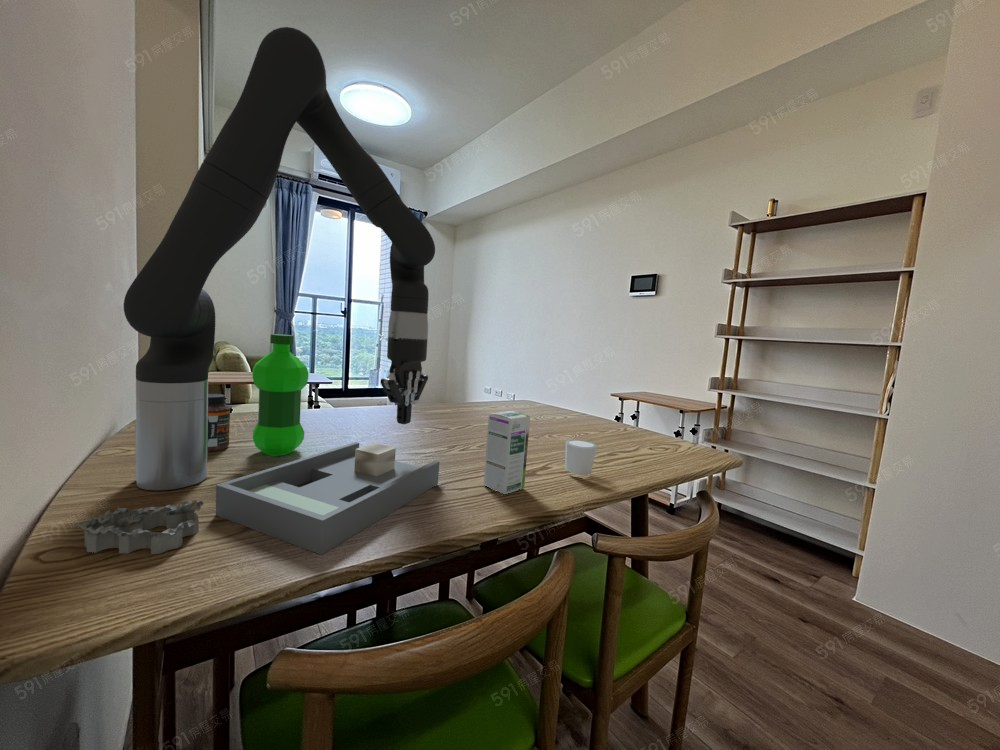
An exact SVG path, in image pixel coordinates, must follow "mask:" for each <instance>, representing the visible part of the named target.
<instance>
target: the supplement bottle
mask: <svg viewBox="0 0 1000 750" xmlns="http://www.w3.org/2000/svg"><path fill="white" fill-rule="evenodd" d="M230 418H231V408H230V406H229V405H228V404H227V403H226V395H225V394H222V393H208V442H207V452H215V451H216V452H217V451H222V450H224V449H226V448H228V447H229V446H230V429H231V428H230V424H231V420H230Z"/></svg>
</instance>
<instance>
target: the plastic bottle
mask: <svg viewBox="0 0 1000 750" xmlns="http://www.w3.org/2000/svg"><path fill="white" fill-rule="evenodd" d="M269 340H270V344H273V345H272V347H273V348H272V351H270V352H269V353H268V354H266V355H264V356H263V357H262V358H261V359H260V360H258V361H257V362H255V364H254V366H253V369H252V375H251V376H252V380H253V383H254V386H255V387H256V388H257V389H258V419H257V420H258V422H257V423H256V425H255V426H254V429H253V431H252V440H253V442H254V445H255V447H256V448H257V450H259V451H260V452H262V453H264V455H265V456H270V457H275V456H276V457H278V456H279V457H280V456H286V455H290V454H291V453H293V451H295V450H296V449H297V448H298V447H300V445H302V444H303V441H304V439H305V430H304V428H303V425H302V424H301V406H302V404H301V401H302V400H301V399H302V390H303V389H304V388H305V387H306V386H307V385H308V381H309V370H308V368H307V366H306V365H305V364H304V363H303V362H302V360H300V358H298V357H297V356H296V355H295V354H293V353H292V352H291V345H294V335H293V334H283V333H281V334H280V333H271V334H270V339H269Z"/></svg>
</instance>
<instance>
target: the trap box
mask: <svg viewBox="0 0 1000 750" xmlns="http://www.w3.org/2000/svg"><path fill="white" fill-rule="evenodd" d="M357 448H360V442H357V441H354V442H352V443H348V444H345V445H342V446H338V447H335V448H332V449H329V450H324V451H321V452H319V453H316V454H315V453H314V454H312V455H309V456H306V457H302V458H299V459H295V460H292V461H289V462H287V463H283V464H280V465H279V464H278V465H277V466H273V467H270V468H266V469H263V470H260V471H257V472H256V471H255V472H254V473H250V474H247V475H243V476H241V477H237V478H234V479H231V480H227V481H224V482H221V483H217V484H216V485H215V516H218V517H219V518H223V519H225V520H227V521H230V522H233V523H236V524H239V525H241V526H245V527H247V528H249V529H252V530H254V531H258V532H260V533H263V534H265V535H268V536H269V537H272V538H275V539H279V540H281V541H284V542H286V543H290V544H292V545H294V546H296V547H299V548H302V549H305V550H308V551H310V552H313V553H315V554H317V555H320V556H322V555H323V554H325V553H327V552H328V551H330V550H332V549H333V548H335V547H337V546H338V545H340V544H342V543H343V542H346V541H347V540H348V539H350V538H351V537H353V536H355V535H356V534H358V533H360V532H361V531H363V530H365V529H366V528H368V527H370V526H372V525H373V524H375V523H376V522H378V521H380V520H381V519H383V518H385V517H387V516H388V515H390V514H392V513H393V512H395V511H397V510H399V509H400V508H401V507H403V506H405V505H406V504H409V503H410V502H412V501H413V500H414V499H416V498H418V497H420V496H421V495H423V494H425V493H427V492H428V491H430V490H431V489H433V488H434V486H435V485H436V486H438V485H439V473H440V460H439V461H438V460H433V461H431V462H428V463H426V464H425V465H423V466H421V467H420V466H418V465H417V466H416V465H414V464H413V465H412V464H408V463H403V462H400V461H396V460H395V467H394V469H393V470H390V471H388V472H386V473H384V474H382V475H379V476H377V477H376V476H373V475H369V474H365V473H361V472H358V471H354V469H355V449H357ZM437 484H438V485H437ZM436 486H435V487H436ZM432 487H433V488H432ZM429 489H430V490H429ZM427 490H428V491H427ZM424 492H425V493H424ZM419 495H420V496H419Z"/></svg>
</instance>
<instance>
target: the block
mask: <svg viewBox="0 0 1000 750" xmlns="http://www.w3.org/2000/svg"><path fill="white" fill-rule="evenodd" d="M396 449H397V448H396V447H393V446H388V445H384V444H380V443H375V442H373V443H370V444H366V445H364V446H361V447H360V446H359V448H357V449H355V469H354V471H358V472H361V473H365V474H369V475H373V476H376V477H377V476H379V475H382V474H384V473H386V472H388V471H390V470H393V469H394V467H395V461H396V452H397V451H396Z"/></svg>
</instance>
